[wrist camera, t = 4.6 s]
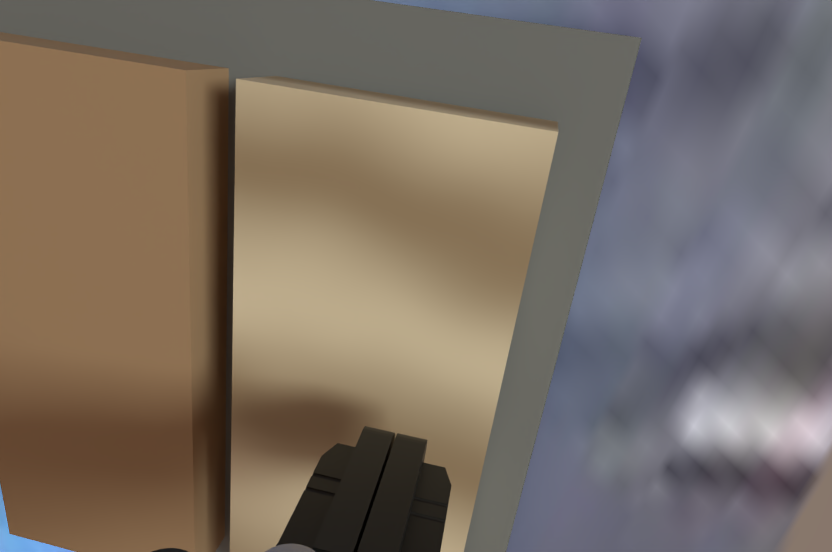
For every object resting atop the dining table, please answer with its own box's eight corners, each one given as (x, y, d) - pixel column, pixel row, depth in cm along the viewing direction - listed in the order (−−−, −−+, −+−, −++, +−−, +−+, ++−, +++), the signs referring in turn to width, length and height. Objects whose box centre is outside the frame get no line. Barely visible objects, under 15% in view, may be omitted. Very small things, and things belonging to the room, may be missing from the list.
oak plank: (276, 76, 14) (235, 78, 12) (557, 121, 13) (558, 131, 11) (258, 546, 20) (229, 594, 19) (449, 604, 19) (439, 661, 18)
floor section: (-52, -58, 15) (-160, -79, 13) (637, 38, 13) (661, 35, 11) (36, 511, 23) (-21, 565, 20) (482, 629, 21) (476, 703, 18)
